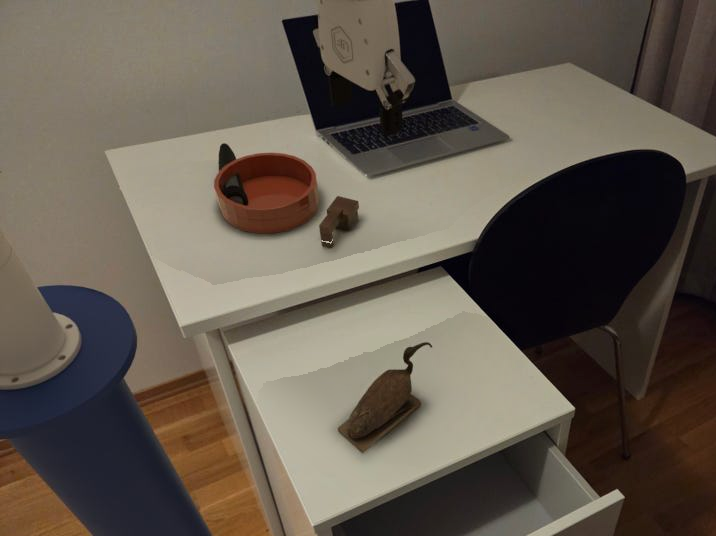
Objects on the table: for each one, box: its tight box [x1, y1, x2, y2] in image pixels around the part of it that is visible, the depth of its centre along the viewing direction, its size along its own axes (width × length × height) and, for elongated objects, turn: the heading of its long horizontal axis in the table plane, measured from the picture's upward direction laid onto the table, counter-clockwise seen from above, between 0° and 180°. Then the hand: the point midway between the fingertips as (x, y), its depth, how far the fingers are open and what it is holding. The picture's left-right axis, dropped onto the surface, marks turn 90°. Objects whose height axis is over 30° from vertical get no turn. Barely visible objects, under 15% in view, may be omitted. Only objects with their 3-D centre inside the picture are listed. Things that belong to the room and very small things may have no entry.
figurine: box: [337, 341, 433, 454], centre depth 76 cm, size 14×4×9 cm, turn 140°
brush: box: [318, 195, 360, 249], centre depth 99 cm, size 8×4×4 cm, turn 164°
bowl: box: [213, 152, 320, 234], centre depth 102 cm, size 15×15×4 cm
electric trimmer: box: [218, 142, 248, 206], centre depth 105 cm, size 4×16×3 cm, turn 20°
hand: (366, 117), depth 83 cm, fingers open, 9 cm apart
